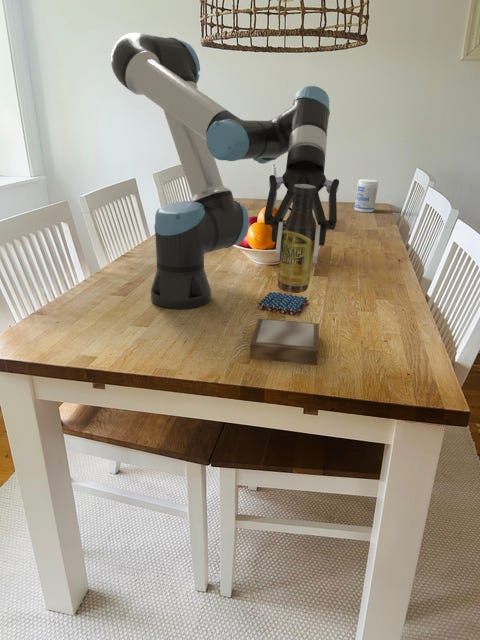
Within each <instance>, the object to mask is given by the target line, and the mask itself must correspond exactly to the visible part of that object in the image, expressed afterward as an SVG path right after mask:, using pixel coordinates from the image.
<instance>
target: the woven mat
mask: <svg viewBox="0 0 480 640" xmlns="http://www.w3.org/2000/svg"><path fill="white" fill-rule="evenodd" d="M309 301H310V300H308V297H304V296H300V295H296V294H295V295H293V294H286V293H281V292H276V291H272V292H271V291H270V292H268V294H266V296H264V297H263V298H262V300H260V302H258V303H257V304H258V306H257V308H258V310H263V309H264V311H267V310H268V312H271V311H272V312H274V313H275V312H276V314H277V313H278V314H286V315H288V314H290V316H293V315H294V314H295V315H294V316H299V314H301V313H303V312H302V311H303V310H304V307H306V306H307V304H308V303H309Z"/></svg>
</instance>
